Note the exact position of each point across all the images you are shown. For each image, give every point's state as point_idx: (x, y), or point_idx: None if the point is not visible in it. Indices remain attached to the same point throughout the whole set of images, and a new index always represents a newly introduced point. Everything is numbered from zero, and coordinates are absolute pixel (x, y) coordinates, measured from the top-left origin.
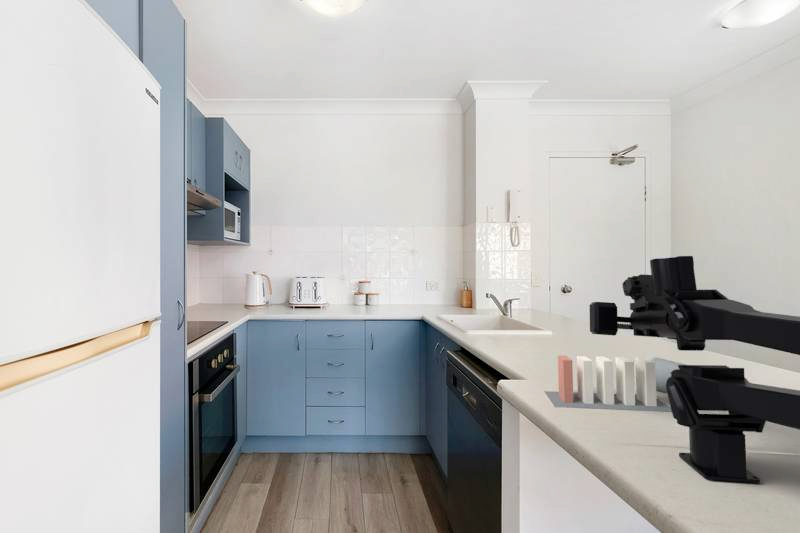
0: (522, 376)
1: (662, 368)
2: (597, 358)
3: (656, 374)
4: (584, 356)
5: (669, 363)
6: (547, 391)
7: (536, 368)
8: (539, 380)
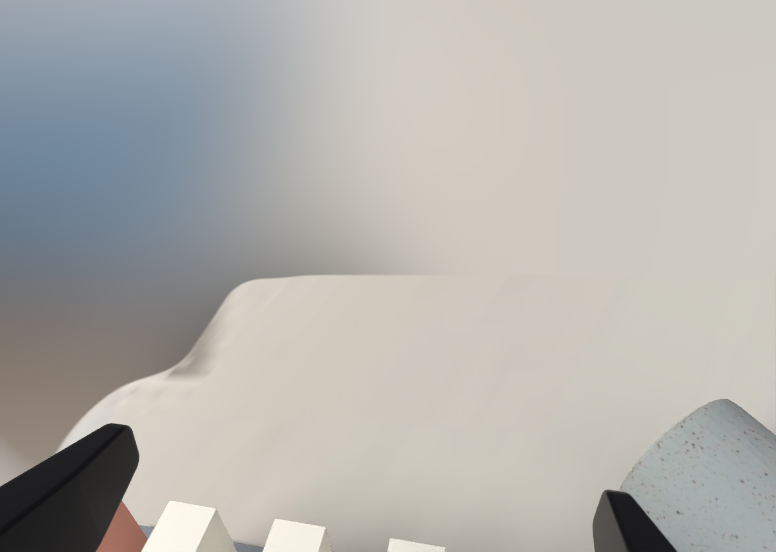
0: (213, 347)
1: (705, 517)
2: (265, 549)
3: (662, 525)
4: (203, 516)
5: (760, 497)
6: (150, 529)
7: (318, 280)
8: (241, 385)
